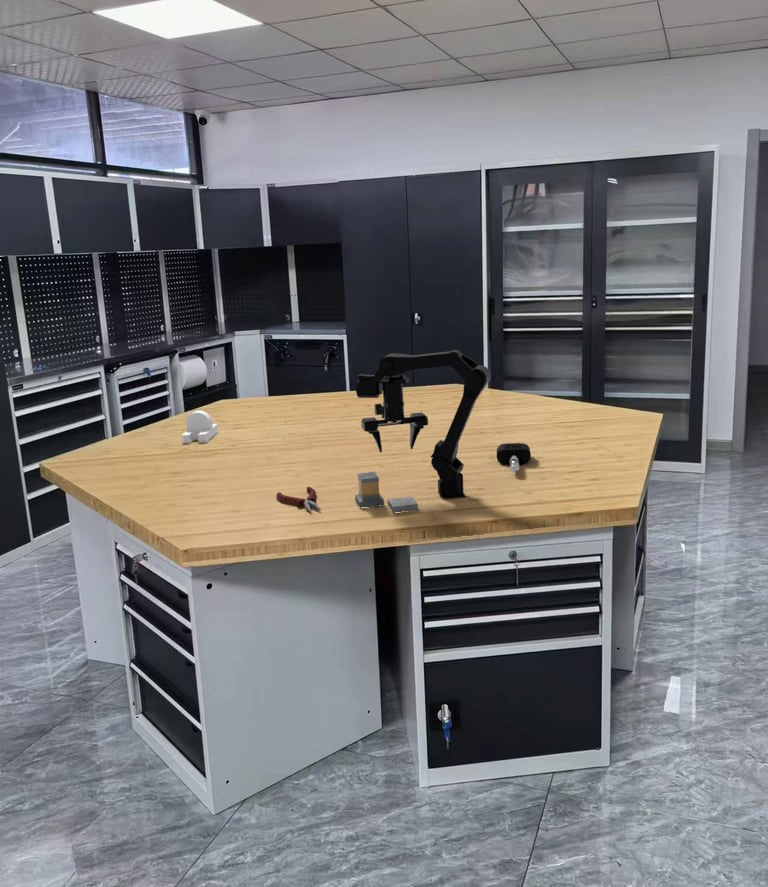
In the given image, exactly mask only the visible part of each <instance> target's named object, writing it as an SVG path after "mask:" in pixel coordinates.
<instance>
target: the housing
mask: <svg viewBox="0 0 768 887" xmlns="http://www.w3.org/2000/svg"><path fill="white" fill-rule="evenodd" d="M357 479H358V481H357V483H358V494H359V496H360V498H361V499H362V501H368V500H377V499H380V495H381V494H380V495H379V493H380V485H379V481H380V477H379V476H378V475H377V473H376V472H375V471H370V472H362V473H361V472H360V473H357Z"/></svg>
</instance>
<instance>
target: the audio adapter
mask: <svg viewBox="0 0 768 887" xmlns="http://www.w3.org/2000/svg"><path fill="white" fill-rule="evenodd" d="M531 457H532V454H531V449H530V446H529V445H528V444H526V443H522V442H521V443H520V442H514V443H513V442H508V443H507V442H506V443H502V444H499V445H498V446H497V448H496V458H497V459H496V460H497V462H498V463H499V464H500V465H501V466H509V469H510V472H512V473H518V472H519V470H520V466H524V465H526V464H528V463H529V462H530V460H531Z"/></svg>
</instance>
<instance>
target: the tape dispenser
mask: <svg viewBox="0 0 768 887" xmlns="http://www.w3.org/2000/svg"><path fill="white" fill-rule="evenodd" d="M185 425H186V426H185V427H186V431H185V432H183V433H182V434H181V438H182V444H191V443H192V442H193V441H198V443H199V444H204V443H208V442H209V441H210V440H211V439H212V438H213V437H214V436H215V435H217V433H219V432H218V431H219V430H218V423H213V419H212V417H211V415H210V414H209V413H208V412H206V411H204V410H196V411H194V412H191V414H189V416H187V417H186V421H185Z"/></svg>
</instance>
